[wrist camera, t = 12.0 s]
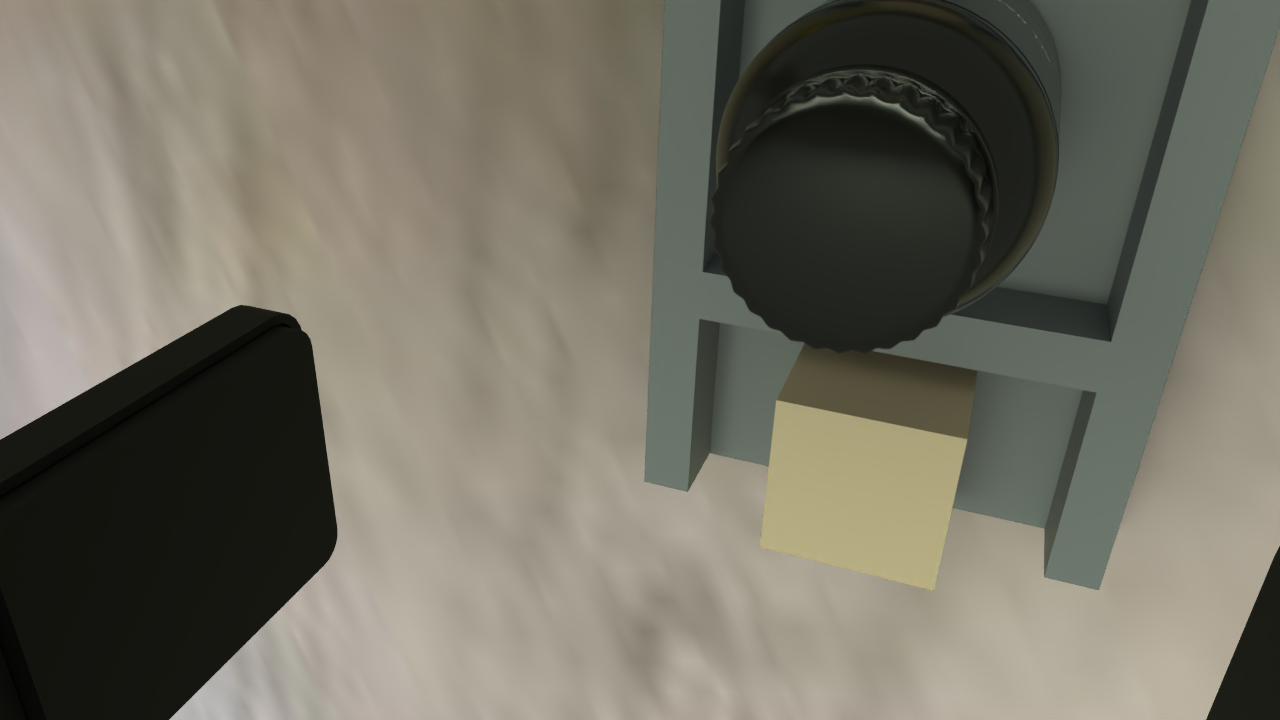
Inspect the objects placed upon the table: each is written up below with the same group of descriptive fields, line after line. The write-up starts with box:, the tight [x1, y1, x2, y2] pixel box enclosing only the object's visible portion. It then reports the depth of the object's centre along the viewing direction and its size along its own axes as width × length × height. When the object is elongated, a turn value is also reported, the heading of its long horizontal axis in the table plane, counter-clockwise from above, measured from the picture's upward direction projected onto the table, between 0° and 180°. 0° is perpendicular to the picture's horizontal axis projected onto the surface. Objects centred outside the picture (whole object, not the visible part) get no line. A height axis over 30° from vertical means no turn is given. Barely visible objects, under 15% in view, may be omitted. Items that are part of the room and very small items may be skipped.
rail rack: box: [644, 0, 1280, 591], centre depth 25 cm, size 26×14×6 cm, turn 177°
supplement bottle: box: [710, 0, 1062, 354], centre depth 22 cm, size 7×7×12 cm
